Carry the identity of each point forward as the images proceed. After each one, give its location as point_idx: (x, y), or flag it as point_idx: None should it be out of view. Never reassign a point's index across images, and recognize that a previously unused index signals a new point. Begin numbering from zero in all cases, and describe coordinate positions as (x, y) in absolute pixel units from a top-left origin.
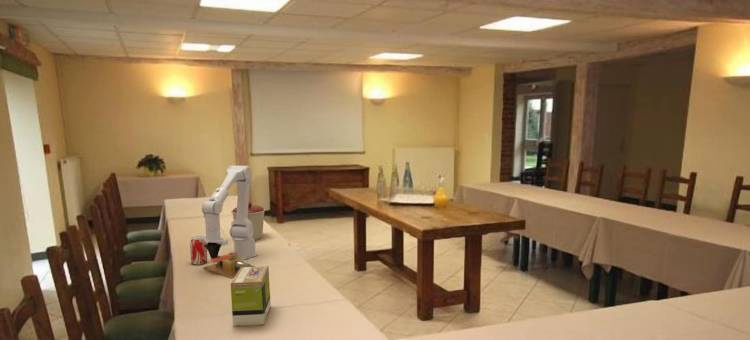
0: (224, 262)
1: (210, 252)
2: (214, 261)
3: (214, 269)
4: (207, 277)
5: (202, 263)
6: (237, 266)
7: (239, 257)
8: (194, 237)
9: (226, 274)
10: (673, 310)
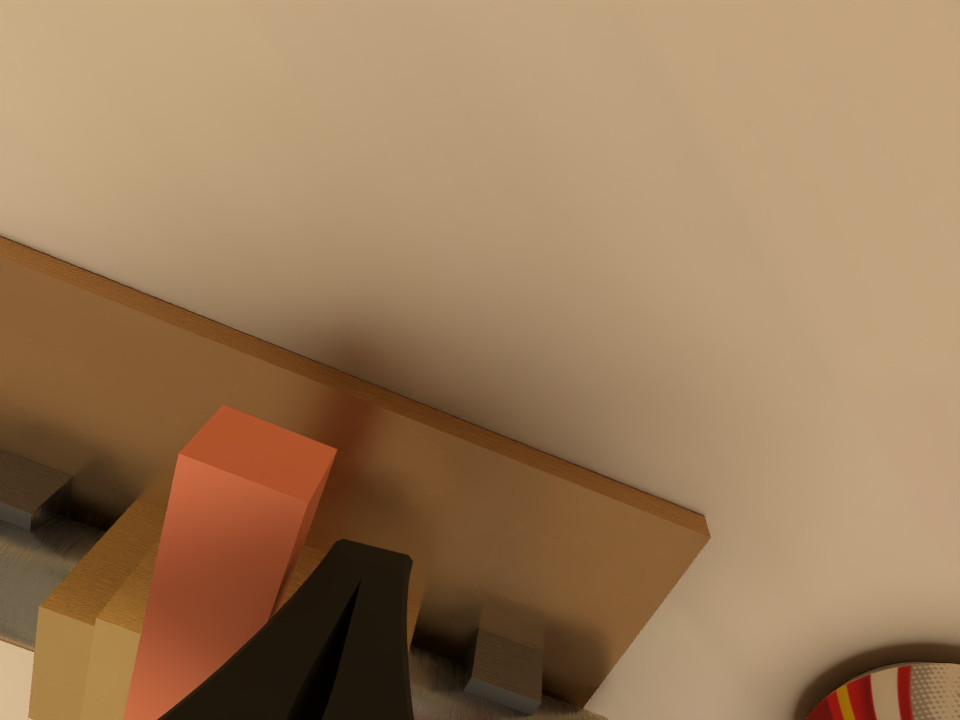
0: None
1: (325, 714)
2: (198, 437)
3: (454, 480)
4: (384, 177)
5: (833, 693)
6: (50, 540)
7: None
8: None
9: (92, 305)
10: None
